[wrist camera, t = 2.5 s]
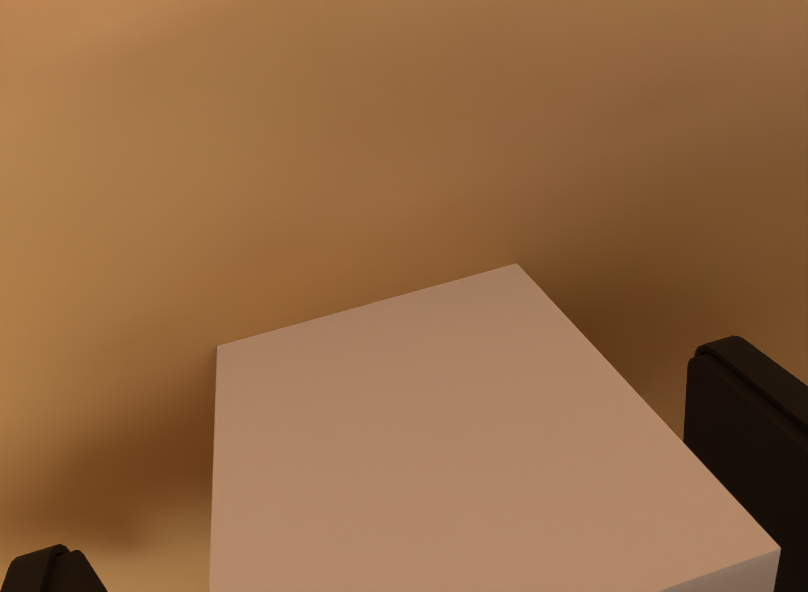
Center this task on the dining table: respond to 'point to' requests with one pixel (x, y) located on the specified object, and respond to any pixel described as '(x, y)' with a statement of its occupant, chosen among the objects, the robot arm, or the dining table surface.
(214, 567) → the white block with knob
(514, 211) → the dining table surface
